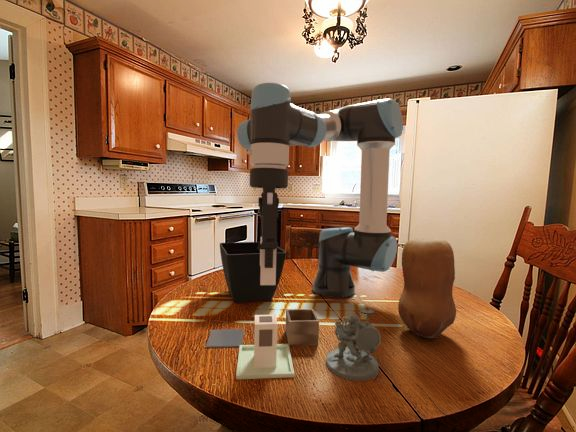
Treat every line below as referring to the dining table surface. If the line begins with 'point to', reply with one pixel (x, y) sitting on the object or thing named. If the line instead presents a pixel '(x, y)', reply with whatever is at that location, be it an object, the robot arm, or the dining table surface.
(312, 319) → the walnut open box
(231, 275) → the flower pot
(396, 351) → the dining table surface
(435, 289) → the butternut squash
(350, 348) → the figurine
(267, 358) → the cream square pillar
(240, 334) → the slate coaster
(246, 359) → the green tray
